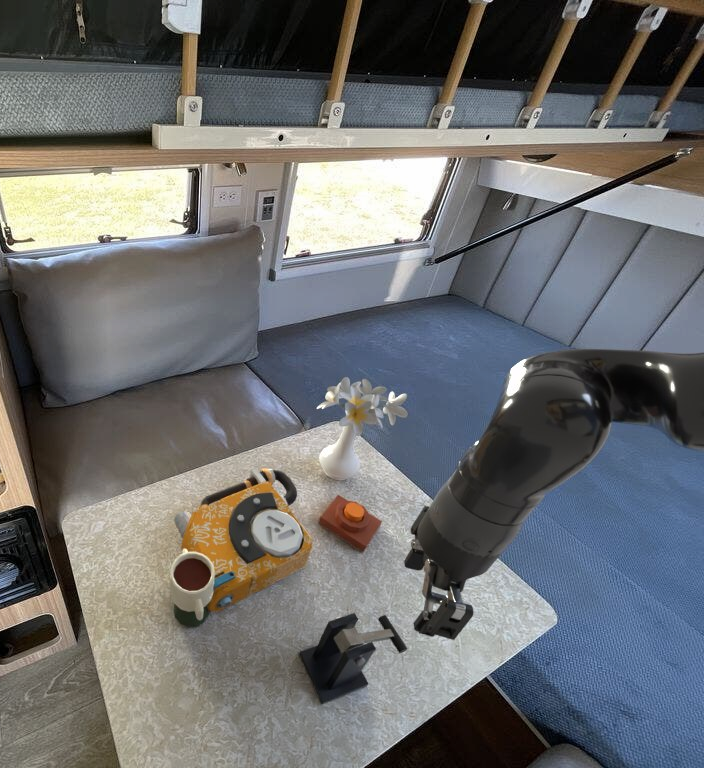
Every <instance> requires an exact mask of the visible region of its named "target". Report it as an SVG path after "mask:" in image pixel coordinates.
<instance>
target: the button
mask: <svg viewBox="0 0 704 768" xmlns="http://www.w3.org/2000/svg"><path fill="white" fill-rule="evenodd" d="M357 503H358V502H357ZM357 503H348V504H347V505H346V508H345V510H344V515H345V517H346V518H347V519H348V520H350V521H352V522H359V521H361V520H362V517H363V515H364V509H363V508H362V507H361V506H360V505H361V504H360V503H359V504H360V505H359V504H357Z"/></svg>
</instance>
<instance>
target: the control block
mask: <svg viewBox="0 0 704 768" xmlns="http://www.w3.org/2000/svg"><path fill="white" fill-rule="evenodd" d="M348 503H357V504H359V505H360V506H361V507H362V508H363V509H364V515H363V517H362V520H361V521H359V522H352V521H350V520H348V519H347V518H346V517H345V515H344V510H345V508H346V505H347V504H348ZM382 523H383V520H381V519H380V518H378V517H376V516H374V515H373V514H371V513H370V512H369V511H368V510H367V509H366V507H365V506H364V505H362V504H360V503H359V502H357V501H353V500H348V499H346V498H345V497H343V496H341V495H339V494H337V495H336V496H335V497H334V499H333V500H332V501H331V502H330V504H329V505H328V506H327V507H326V509H325V510H324V511H323V513H322V514H321V515H320V517H319V520H318V524H319V525H321V526H322V527H324V528H325V529H327V530H328V531H329V532H330V533H333V534H334V535H336V536H337V537H339V538H341V539H342V540H343V541H345V542H347V543H348V544H349V545H351V546H352V547H353V548H355V549H357V550H358V551H359V552H362V553H365V551H366V550H367V548H368V546H369V545H370V543H371V541H373V538H374V537H375V535H376V533H377V532H378V530H379V529H380V527H381V525H382Z"/></svg>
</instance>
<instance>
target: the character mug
mask: <svg viewBox="0 0 704 768" xmlns="http://www.w3.org/2000/svg"><path fill="white" fill-rule="evenodd" d="M214 571H215V570H214V566H213V564H212V562H211V561H210V559H209V558H208V557H206V556H205V555H204V554H201V553H198V552H188V551H187V549H185V548H184V549H183V550H181V554H178V556H177V557H175V558H174V560H173V561H172V564H171V566H170V569H169V575H170V577H169V578H170V579H169V581H170V583H169V584H170V597H171V600H172V602H173V608H172V610H173V616H174V618H175V620H176V621H177V622H178V624H180V625H182V626H184V627H186V628H197V627H199V626H201V625H203V624H204V623H205V622H206V620H207V618H208V617H209V616H208V615H209V612H210V611H209V610H208V608H207V606H206V605H207V604H208V603H209V602H210V600H211V599H212V596H213V586H214Z"/></svg>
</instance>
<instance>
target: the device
mask: <svg viewBox="0 0 704 768" xmlns="http://www.w3.org/2000/svg"><path fill="white" fill-rule="evenodd" d="M276 481H278V482H279V483H280V484H281V485H282V486H283V488H284V490H285V492H286V494H285V495H282V494H281V493H280V491H278V489H277V488H274V486H273V485H274V483H275V482H276ZM297 498H298V491H297V486H296V485H295V483H294V482H293V481H292V479H291V477H289V476H288V475H287V474H286V473H285V472H284V471H282V470H278V469H272V468H266V467H263V468H261V469H260V470H258V468H257V467H256V466H255V467H252V468H250V474H249V477H248V478H247V479H246V480H244V481H242V482H240V483H238V484H235V485H232V486H230V487H229V486H228V487H227V488H224V489H221V490H219V491H216V492H214V493H210V494H209V495H206V496H205V497H204V498H203V499H202V500H201V502H200V505H199V508H198V509H197V510H196V511H192V514H190V512H189V511H186V510H184V511H180V512H178V513H177V514H176V515H175V516H174V519H173V522H174V524H175V527H176V529H177V531H178V533H179V534H180V536H181V538H182V541H181V547H180V550H181V551H182V550H183V549H184V548H185V549H187V551H188V552H198V553H201V554H204V555H205V556H206V557H208V558H209V559H210V561H211V562H212V564H213V566H214V570H215V571H214V586H213V596H212V599H211V600H210V602H209V603H208V604H207V605H206V606H207V608H208V610H209V612H213V613H217V612H219V611H220V612H221V611H223V610H224V609H227V608H229V607H230V606H231V605H235V604H237V603H238V602H241V601H243V600H245V599H247V598H248V597H249V596H251V595H254V594H256V593H257V592H259V591H262V590H264V589H266V588H268V587H271V586H273V585H274V583H276V582H278V581H280V580H282V579H284V578H286V577H288V576H290V575H292V574H294V573H296V572H298V571H301V570H302V569H304V568H305V567H306V565H307V563H308V560H309V557H310V555H311V551H312V549H313V545H314V542H313V539H312V537H311V535H310V533H309V532H308V531H307V530H306V528H305V527H304V526H303V524H302V523H301V522H300V521H299V519H298V518H297V517H296V516H295V514H294V513H293V511H292V509H291V508H290V506H291V505H293V504H294V503H295V502H296V500H297Z"/></svg>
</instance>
